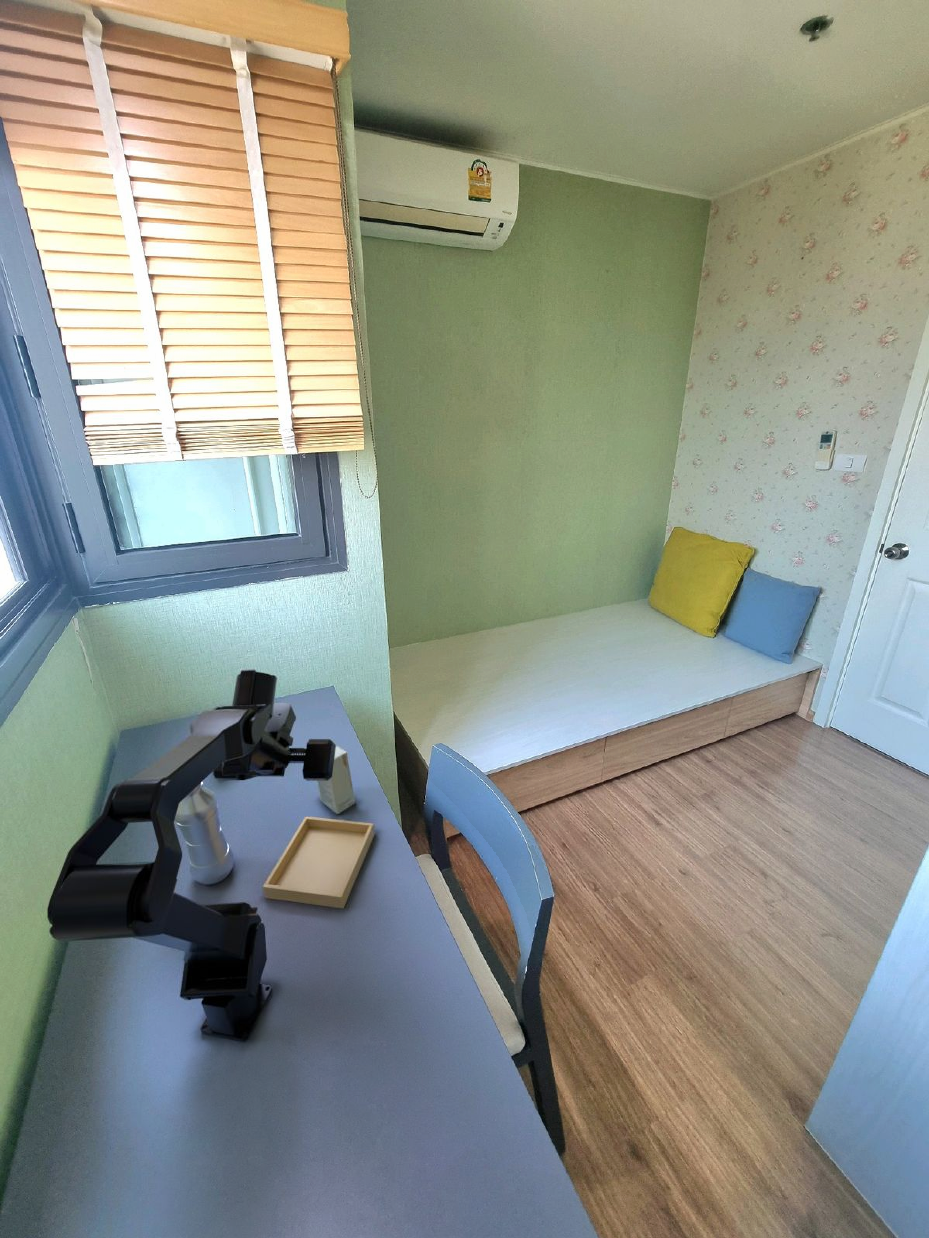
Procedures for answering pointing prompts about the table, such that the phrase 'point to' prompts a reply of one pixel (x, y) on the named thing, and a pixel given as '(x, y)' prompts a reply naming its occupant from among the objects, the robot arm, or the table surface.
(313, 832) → the tray
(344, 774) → the cosmetic box
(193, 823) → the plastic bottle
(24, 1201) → the table surface
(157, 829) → the robot arm
